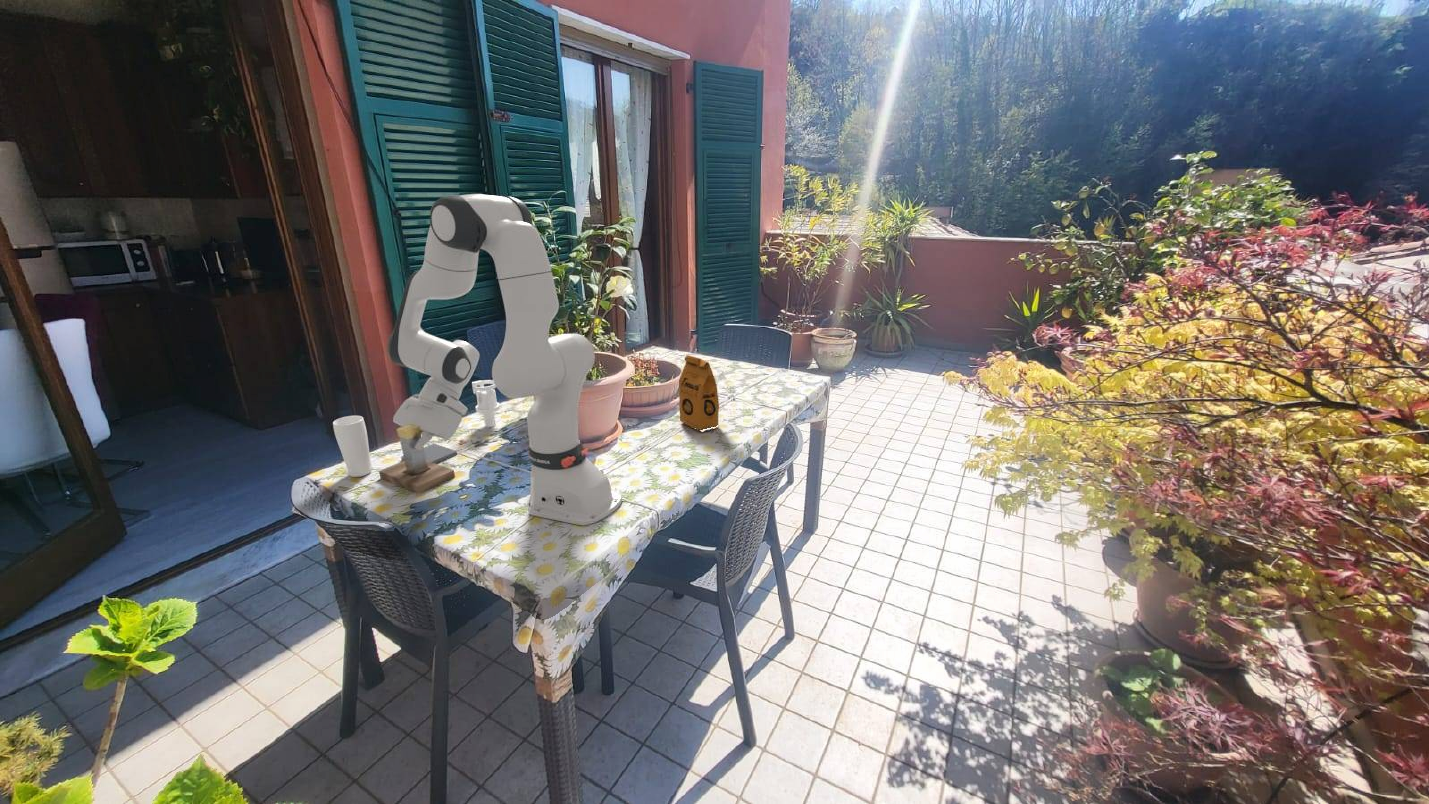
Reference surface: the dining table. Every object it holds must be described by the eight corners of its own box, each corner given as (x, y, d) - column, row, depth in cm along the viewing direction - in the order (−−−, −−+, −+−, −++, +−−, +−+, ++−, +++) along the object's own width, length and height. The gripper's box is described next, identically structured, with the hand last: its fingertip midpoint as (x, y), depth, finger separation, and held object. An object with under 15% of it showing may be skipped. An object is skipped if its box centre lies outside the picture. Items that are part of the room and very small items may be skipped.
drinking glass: (340, 475, 147) (326, 422, 142) (365, 465, 153) (353, 413, 147) (355, 481, 144) (342, 427, 139) (381, 470, 150) (369, 418, 144)
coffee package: (697, 435, 172) (697, 366, 164) (675, 423, 181) (674, 356, 173) (723, 428, 177) (724, 360, 169) (701, 416, 186) (700, 351, 179)
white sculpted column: (475, 424, 179) (468, 379, 174) (498, 419, 183) (492, 375, 178) (482, 431, 174) (475, 385, 169) (505, 426, 178) (499, 380, 173)
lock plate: (454, 476, 147) (453, 470, 146) (419, 493, 138) (417, 486, 138) (416, 462, 154) (415, 456, 153) (380, 478, 146) (378, 471, 145)
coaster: (457, 454, 159) (456, 451, 159) (424, 468, 151) (423, 465, 150) (434, 446, 164) (433, 443, 163) (401, 460, 155) (400, 456, 155)
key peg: (429, 469, 146) (420, 426, 142) (415, 475, 143) (405, 431, 139) (419, 466, 148) (410, 423, 144) (406, 472, 145) (396, 428, 140)
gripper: (403, 387, 149) (375, 434, 145) (454, 399, 140) (425, 450, 135) (422, 398, 154) (395, 443, 150) (472, 410, 145) (445, 460, 140)
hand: (410, 447), depth 142 cm, fingers closed on key peg, 3 cm apart
